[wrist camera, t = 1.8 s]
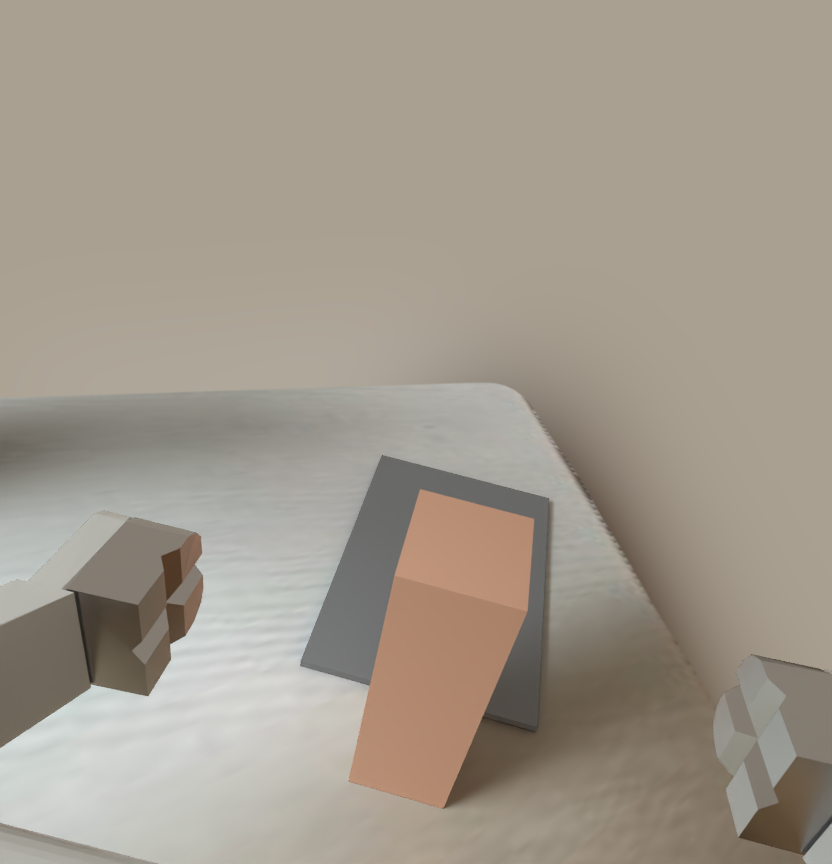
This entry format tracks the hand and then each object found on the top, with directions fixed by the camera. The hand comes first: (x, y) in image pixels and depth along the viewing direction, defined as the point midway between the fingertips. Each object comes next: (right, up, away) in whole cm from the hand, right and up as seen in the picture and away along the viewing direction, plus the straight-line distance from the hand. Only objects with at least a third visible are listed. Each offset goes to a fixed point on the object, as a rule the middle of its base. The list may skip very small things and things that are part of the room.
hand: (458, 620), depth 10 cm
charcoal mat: (+1, -7, +36) cm, 37 cm away
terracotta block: (-1, -14, +26) cm, 29 cm away
